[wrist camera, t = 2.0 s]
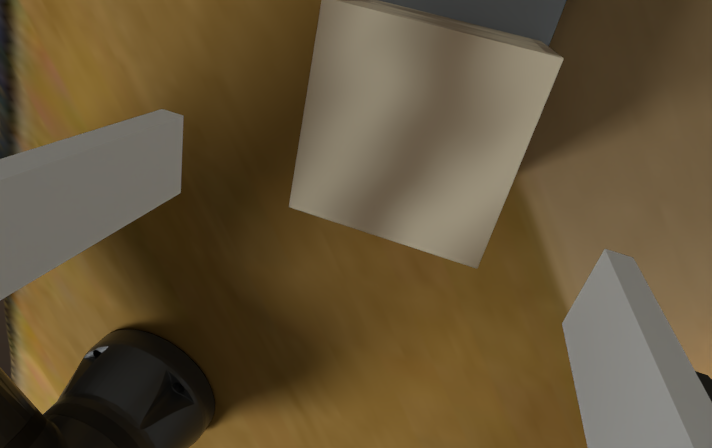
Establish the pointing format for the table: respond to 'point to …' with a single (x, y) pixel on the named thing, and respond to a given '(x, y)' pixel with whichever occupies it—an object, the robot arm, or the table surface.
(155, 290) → the table surface
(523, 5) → the board
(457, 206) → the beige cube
